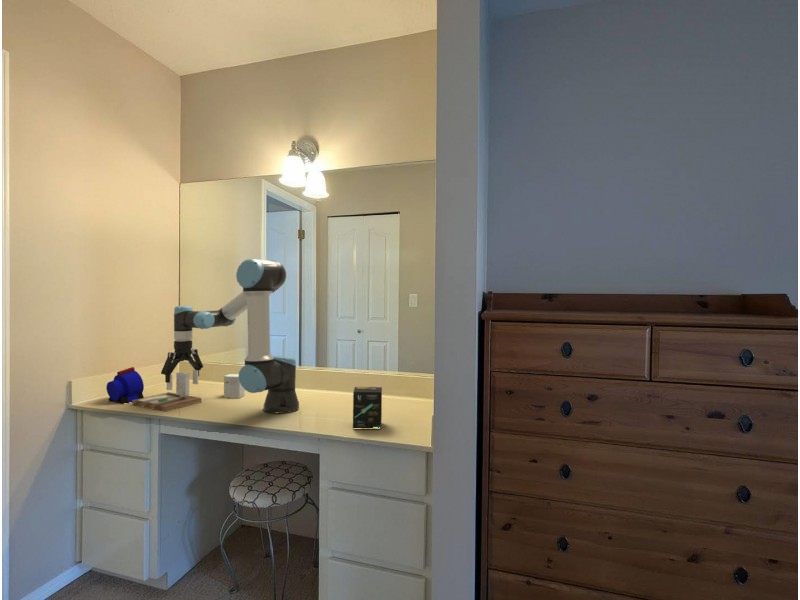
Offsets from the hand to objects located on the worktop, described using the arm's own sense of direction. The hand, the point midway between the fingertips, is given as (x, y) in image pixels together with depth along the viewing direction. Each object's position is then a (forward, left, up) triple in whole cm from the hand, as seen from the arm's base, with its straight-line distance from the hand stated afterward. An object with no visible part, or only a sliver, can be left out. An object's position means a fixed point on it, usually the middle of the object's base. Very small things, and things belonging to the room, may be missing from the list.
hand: (182, 386), depth 205 cm
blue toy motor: (+26, +10, -8) cm, 29 cm away
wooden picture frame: (+5, +4, -7) cm, 10 cm away
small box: (-11, -20, -8) cm, 24 cm away
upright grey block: (+3, 0, -5) cm, 6 cm away
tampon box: (-90, -11, -8) cm, 91 cm away
